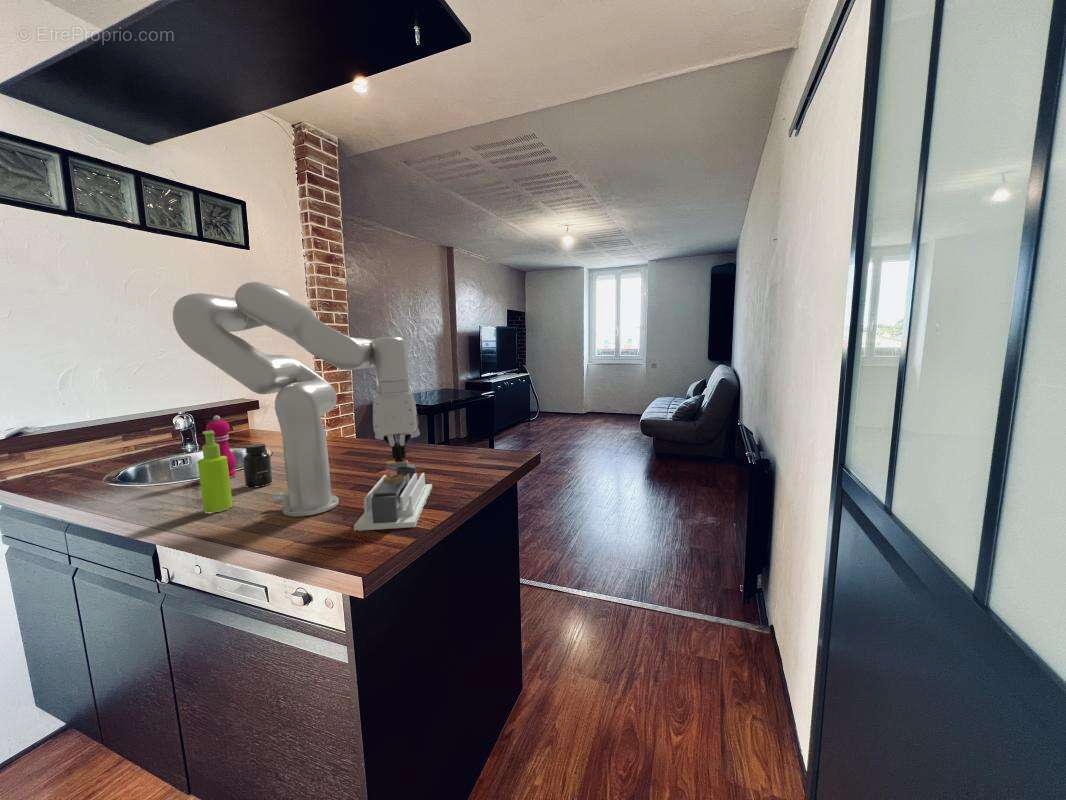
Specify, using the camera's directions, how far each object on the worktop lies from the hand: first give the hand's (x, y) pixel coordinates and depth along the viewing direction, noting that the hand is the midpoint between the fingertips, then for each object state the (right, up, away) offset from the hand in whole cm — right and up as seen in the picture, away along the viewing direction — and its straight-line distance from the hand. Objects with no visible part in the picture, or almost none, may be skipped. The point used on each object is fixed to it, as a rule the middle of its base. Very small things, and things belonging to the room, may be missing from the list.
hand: (399, 460), depth 106 cm
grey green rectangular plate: (-1, -3, +4) cm, 5 cm away
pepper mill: (-65, -10, +29) cm, 72 cm away
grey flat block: (0, -6, -7) cm, 9 cm away
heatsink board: (0, -11, -1) cm, 11 cm away
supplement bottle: (-48, -10, +20) cm, 53 cm away
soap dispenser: (-47, -13, +1) cm, 48 cm away
